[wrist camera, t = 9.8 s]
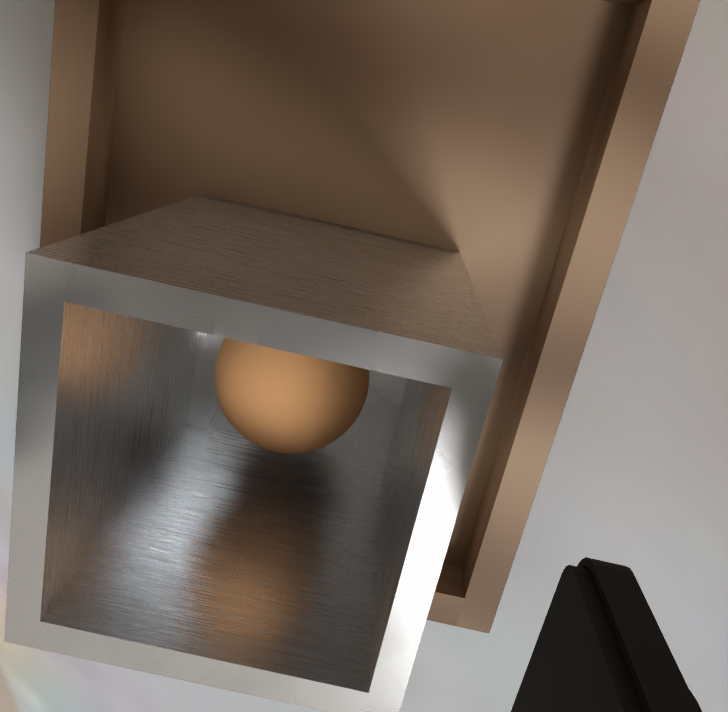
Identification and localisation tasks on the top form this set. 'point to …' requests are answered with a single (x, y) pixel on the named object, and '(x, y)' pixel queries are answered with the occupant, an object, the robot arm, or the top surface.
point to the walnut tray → (392, 169)
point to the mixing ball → (287, 396)
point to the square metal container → (240, 452)
